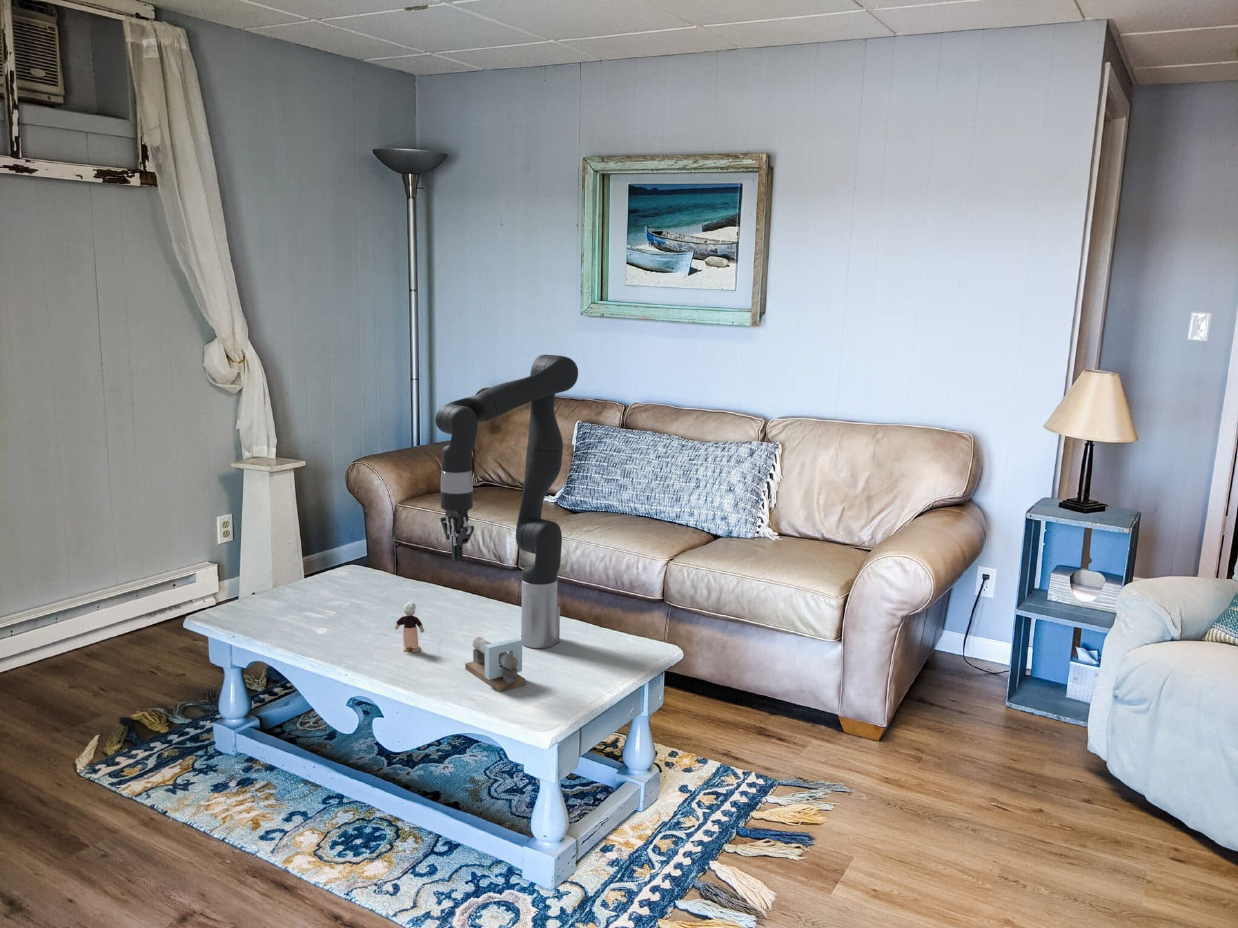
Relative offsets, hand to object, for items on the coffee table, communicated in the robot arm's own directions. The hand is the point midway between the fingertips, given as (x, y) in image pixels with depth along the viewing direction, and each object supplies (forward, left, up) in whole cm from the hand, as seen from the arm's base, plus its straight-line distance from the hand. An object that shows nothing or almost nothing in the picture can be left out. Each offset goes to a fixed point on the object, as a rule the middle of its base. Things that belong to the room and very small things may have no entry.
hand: (457, 559), depth 227 cm
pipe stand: (-4, +11, -27) cm, 29 cm away
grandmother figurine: (+5, -16, -27) cm, 32 cm away
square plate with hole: (-4, +15, -25) cm, 29 cm away
